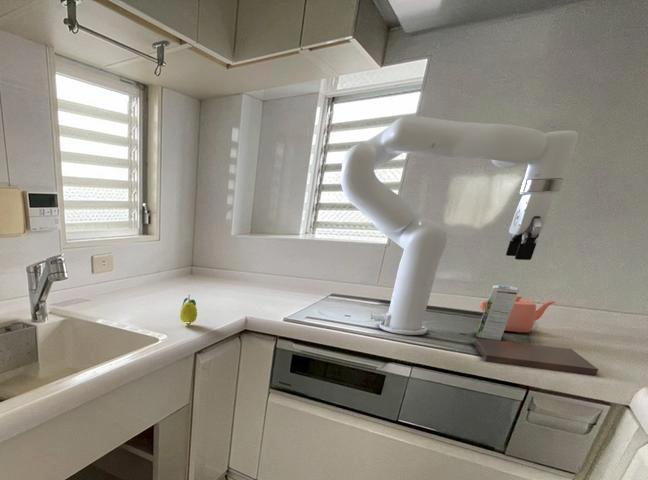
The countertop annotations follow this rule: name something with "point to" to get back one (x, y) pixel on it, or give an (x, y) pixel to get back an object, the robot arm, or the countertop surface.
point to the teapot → (522, 314)
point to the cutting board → (534, 356)
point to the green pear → (188, 311)
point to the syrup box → (497, 312)
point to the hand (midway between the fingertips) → (517, 257)
